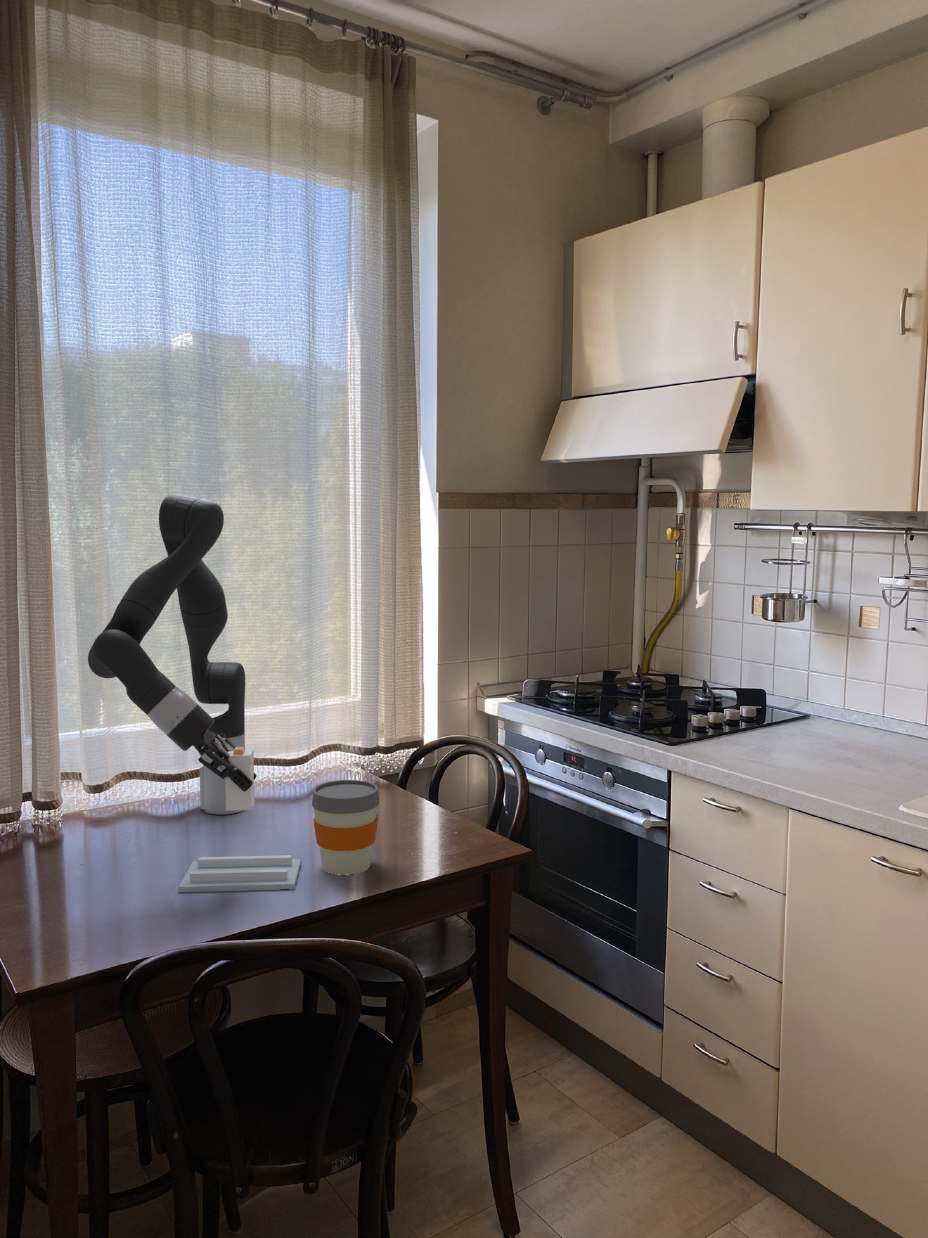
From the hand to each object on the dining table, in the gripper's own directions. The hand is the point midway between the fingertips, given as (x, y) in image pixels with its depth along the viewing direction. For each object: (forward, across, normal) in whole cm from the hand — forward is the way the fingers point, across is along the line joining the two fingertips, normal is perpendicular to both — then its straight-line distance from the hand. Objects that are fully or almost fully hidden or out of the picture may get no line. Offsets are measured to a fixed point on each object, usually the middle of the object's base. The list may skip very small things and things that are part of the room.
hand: (251, 783), depth 166 cm
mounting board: (+11, 0, +14) cm, 18 cm away
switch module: (+2, 0, +4) cm, 5 cm away
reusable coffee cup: (+24, +4, +1) cm, 25 cm away
